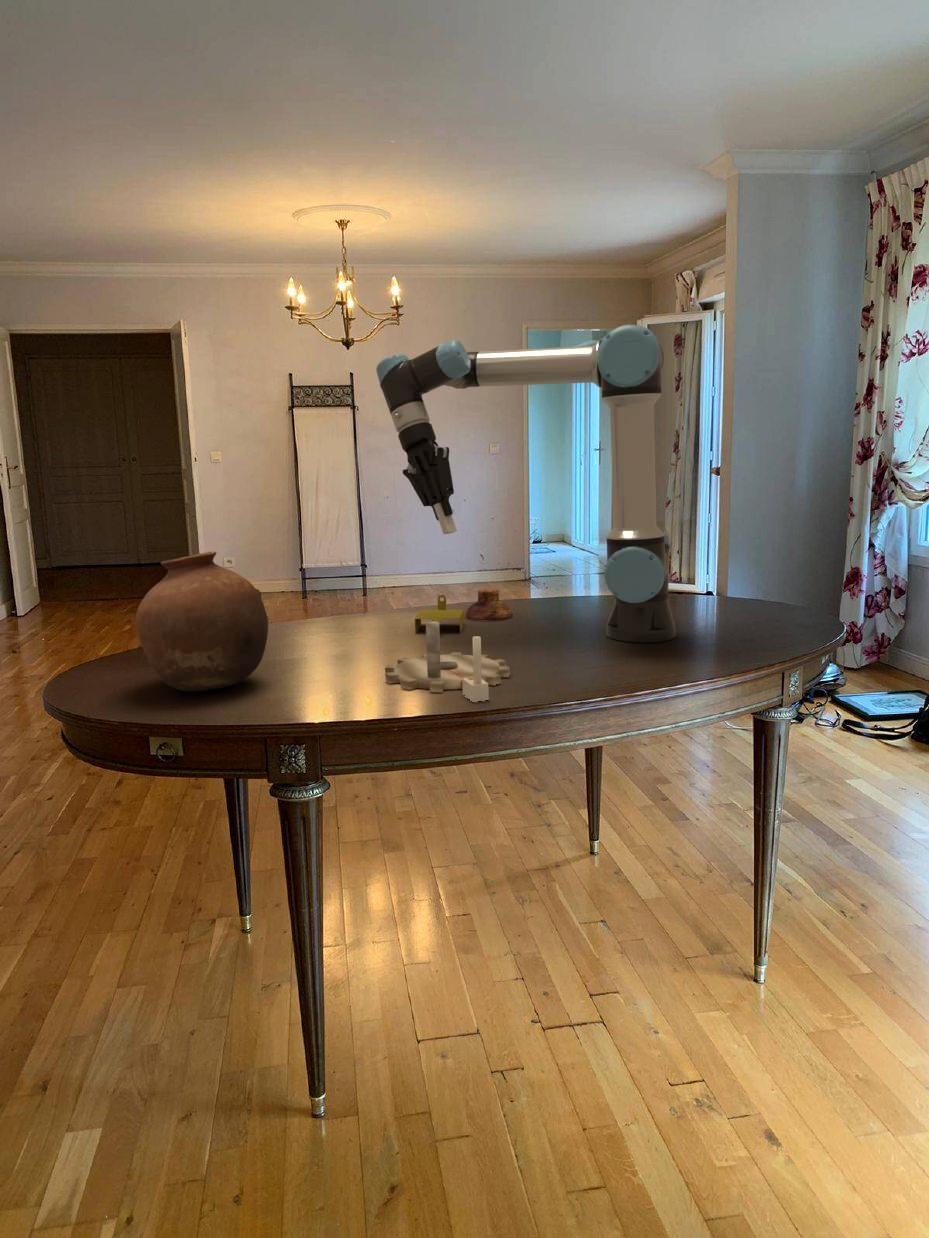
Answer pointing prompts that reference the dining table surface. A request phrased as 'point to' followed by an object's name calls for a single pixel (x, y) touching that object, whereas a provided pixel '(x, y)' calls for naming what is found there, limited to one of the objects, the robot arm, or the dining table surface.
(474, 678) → the index post
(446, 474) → the robot arm
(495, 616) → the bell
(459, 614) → the bracket
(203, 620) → the pottery
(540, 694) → the dining table surface
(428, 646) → the sprocket
